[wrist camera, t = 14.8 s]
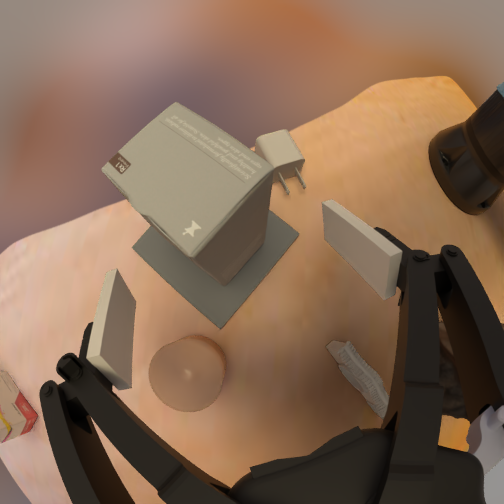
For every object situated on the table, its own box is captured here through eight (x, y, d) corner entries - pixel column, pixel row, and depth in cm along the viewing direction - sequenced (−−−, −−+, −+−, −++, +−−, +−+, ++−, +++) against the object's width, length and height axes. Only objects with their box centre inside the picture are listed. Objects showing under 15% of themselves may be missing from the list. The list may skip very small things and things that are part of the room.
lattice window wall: (385, 405, 26) (411, 419, 20) (374, 416, 25) (398, 431, 20) (332, 335, 27) (355, 340, 22) (320, 346, 27) (340, 353, 21)
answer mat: (298, 235, 30) (299, 233, 29) (220, 328, 27) (220, 329, 26) (210, 167, 31) (210, 165, 31) (133, 249, 28) (131, 247, 28)
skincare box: (264, 243, 29) (294, 162, 13) (218, 294, 27) (194, 266, 12) (206, 194, 30) (183, 89, 14) (161, 240, 28) (93, 165, 13)
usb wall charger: (283, 147, 32) (288, 128, 28) (308, 193, 31) (317, 177, 27) (254, 156, 32) (256, 136, 28) (278, 203, 31) (283, 188, 27)
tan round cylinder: (237, 360, 26) (237, 375, 20) (202, 400, 25) (191, 425, 18) (193, 323, 27) (178, 326, 20) (158, 364, 26) (135, 377, 19)
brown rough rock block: (480, 324, 28) (584, 311, 9) (464, 405, 25) (563, 426, 6) (425, 318, 28) (559, 303, 9) (406, 413, 25) (522, 461, 6)
